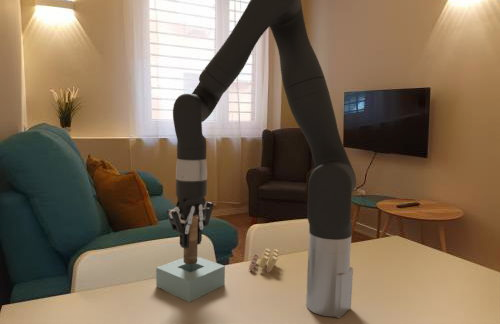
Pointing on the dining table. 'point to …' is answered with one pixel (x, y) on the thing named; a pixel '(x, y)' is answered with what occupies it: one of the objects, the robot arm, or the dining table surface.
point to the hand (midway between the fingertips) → (190, 245)
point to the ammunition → (265, 260)
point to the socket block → (190, 278)
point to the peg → (192, 242)
